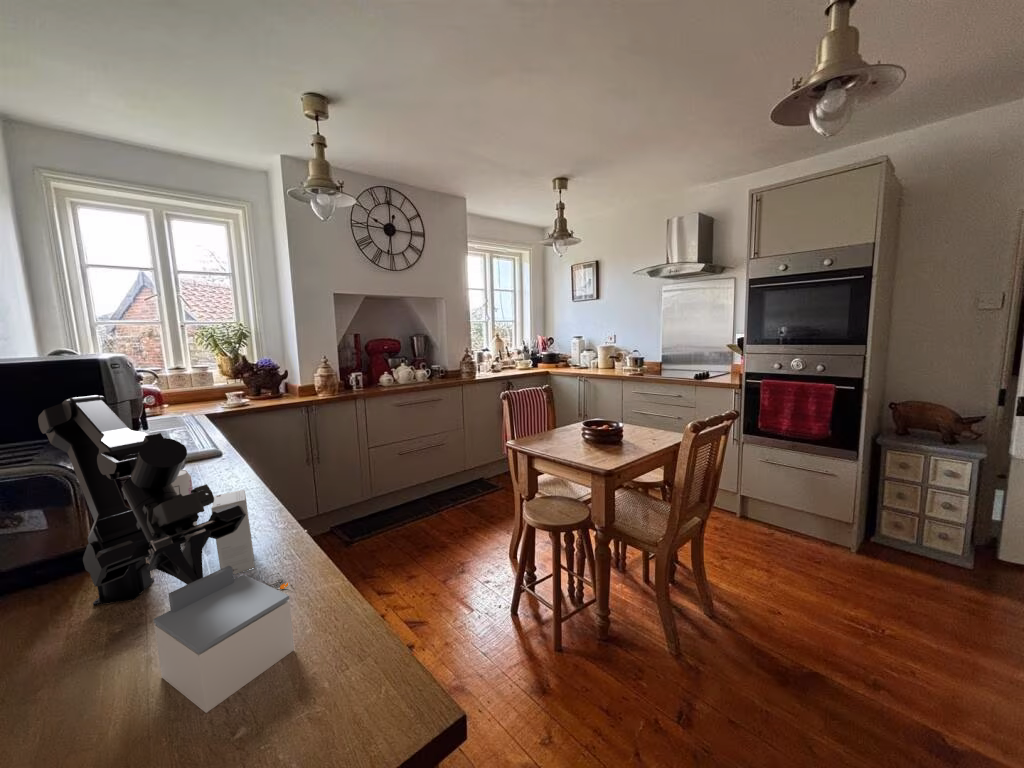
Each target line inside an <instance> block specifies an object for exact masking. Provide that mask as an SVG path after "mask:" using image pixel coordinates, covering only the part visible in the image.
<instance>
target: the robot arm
mask: <svg viewBox="0 0 1024 768" xmlns="http://www.w3.org/2000/svg"><path fill="white" fill-rule="evenodd" d="M37 421H38V428H39V430H40V432H41V433H42V434H43V435H44V434H45V435H46V436H47V438H48V441H49V443H50V445H52V446H53V447H55V448H57V449H59V450H61V451H63V452H64V453H67V455H68V457H69V459H70V463H71V465H72V469H73V470H74V473H75V475H76V478H77V480H78V483H79V485H80V488H81V490H82V493H83V496H84V499H85V501H86V503H87V506H88V509H89V511H90V513H91V517H92V520H93V524H92V527H91V528H90V532H89V533H88V536H87V542H88V544H87V545H86V549H85V551H84V553H83V556H82V562H83V565H84V569H85V571H86V572H88V573H89V575H90V578H91V580H92V583H93V585H94V587H97V593H98V597H97V599H96V600H94V601H93V602H92V606H101V605H109V604H115V603H121V602H127V601H135V600H136V599H137V598H138V597H139V596H140V595H141V594H143V592H144V591H145V590H146V589H147V588H148V587H149V586H150V585H151V584H153V583H154V582H155V578H154V577H152V575H151V571H154V570H157V571H160V572H162V573H164V574H167V575H169V576H171V577H174V578H175V579H178V580H179V581H181V582H182V583H184V584H185V585H188V584H190V583H192V582H194V581H196V580H199V579H201V578H203V577H204V574H203V573H204V571H203V550H204V547H205V546H206V544H207V542H208V540H209V539H210V538H211V539H215V540H216V539H218V538H221V537H223V536H226V535H228V534H231V533H233V532H234V531H236V530H237V529H238V527H239V525H240V524H241V522H242V520H243V519H244V517H245V515H246V514H245V512H244V510H243V508H242V507H241V506H239V505H236V504H233V505H230V506H228V507H225V508H222V509H219V510H216V511H213V513H212V512H211V514H210V517H209V519H208V520H207V521H205V522H202V523H198V524H197V525H196V526H194V524H193V523H194V522H196V521H197V522H198V520H199V518H200V517H199V514H200V513H203V512H205V507H207V506H210V505H211V504H213V502H214V496H215V495H214V493H213V491H212V490H211V488H210V487H209V485H208V484H206V483H205V484H203V485H199V486H196V487H193V490H191V494H188V495H185V496H182V495H181V494H179V495H177V493H176V491H175V489H174V488H173V486H172V483H173V482H174V481H175V480H176V479H177V477H178V474H179V472H180V470H182V467H183V464H184V463H185V460H186V458H187V455H188V449H187V447H186V446H185V444H184V443H183V444H182V443H181V442H179V441H178V440H175V439H172V438H169V437H164V436H163V435H162V433H161V432H158V433H151V434H148V433H147V432H144V431H138V430H132V429H130V428H129V427H128V425H127V424H126V423H125V422H124V421H123V420H121V418H120V417H119V416H118V415H117V414H116V413H115V411H113V409H112V408H110V407H109V405H108V402H107V400H106V398H105V396H103V395H98V394H94V395H87V396H78V397H77V396H75V397H70V398H68V399H65V400H64V401H62V402H61V403H59V404H55V405H53V406H50V407H48V408H45V409H43V410H42V412H41V413H40V414H39V415H38V419H37ZM126 477H128V478H127V479H126V480H125V481H124V483H123V485H122V486H121V491H122V493H121V491H120V488H119V486H118V484H117V481H116V480H118V479H119V480H120V479H122V478H126ZM122 494H123V496H122ZM125 501H127V503H128V505H129V507H128V506H127V505H126V502H125ZM182 549H183V550H182ZM147 561H148V562H147Z"/></svg>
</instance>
